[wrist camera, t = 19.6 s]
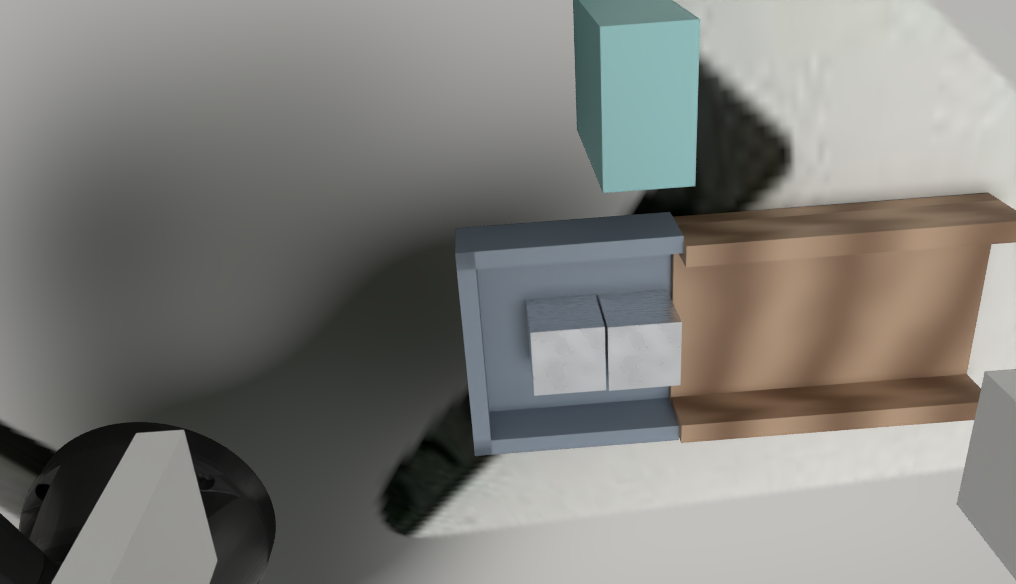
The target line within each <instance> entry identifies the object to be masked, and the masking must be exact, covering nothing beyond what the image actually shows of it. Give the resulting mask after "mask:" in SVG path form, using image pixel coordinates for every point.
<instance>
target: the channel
mask: <svg viewBox="0 0 1016 584" xmlns="http://www.w3.org/2000/svg"><path fill="white" fill-rule="evenodd" d="M673 218H674V220H675V222H676V223H677V225H678V227H679V229H680V230H681V232H682V234H683V236H684V244H683V253H682V254H671V285H670V297H671V299H672V301H673V304H674V306H675V308H676V310H677V312H678V314H679V316H680V319H681V321H682V343H681V383H680V385H677V386H669V394H668V398H669V401H670V403H671V406H672V409H673V411H674V414H675V417H676V419H677V422H678V425H679V438H680V441H681V443H685V442H698V441H710V440H723V439H736V438H749V437H761V436H774V435H787V434H799V433H812V432H825V431H838V430H850V429H863V428H876V427H889V426H901V425H914V424H927V423H940V422H952V421H965V420H975V416H976V411H977V406H978V401H979V397H980V392H981V389H980V387H979V386H978V385H977V384H976V383H975V382H974V381H973V380H972V379H971V378H970V377H969V376H968V375H967V369H968V363H969V358H970V353H971V348H972V343H973V337H974V332H975V327H976V322H977V316H978V311H979V306H980V301H981V296H982V290H983V285H984V280H985V275H986V269H987V264H988V259H989V254H990V249H991V244H999V243H1012V242H1016V210H1014V209H1013V208H1011V207H1010V206H1008V205H1006V204H1005V203H1003V202H1002V201H1000V200H999V199H997V198H996V197H994V196H992V195H991V194H989V193H979V194H966V195H953V196H940V197H927V198H914V199H900V200H887V201H874V202H861V203H848V204H835V205H821V206H808V207H795V208H782V209H769V210H756V211H742V212H729V213H716V214H703V215H690V216H677V217H673Z"/></svg>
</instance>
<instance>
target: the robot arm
mask: <svg viewBox="0 0 1016 584" xmlns="http://www.w3.org/2000/svg"><path fill="white" fill-rule="evenodd" d="M957 505H958V506H959V508H960V509H961V510H962V512H963V513H964V514H965V515H966V517H967V518H968V519H969V521H970V522H971V523H972V524H973V526H974V527H975V528H976V530H977V531H978V532H979V533H980V535H981V536H982V537H983V538H984V540H985V541H986V542H987V544H988V545H989V546H990V548H991V549H992V550H993V551H994V553H995V554H996V555H997V557H998V558H999V559H1000V560H1001V562H1002V563H1003V564H1004V566H1005V567H1006V568H1007V569H1008V571H1009V572H1010V573H1011V575H1012V576H1013V577H1014V578H1015V580H1016V369H1012V370H998V371H985V373H984V378H983V383H982V387H981V392H980V397H979V401H978V406H977V411H976V416H975V420H974V425H973V430H972V434H971V439H970V444H969V449H968V453H967V458H966V463H965V467H964V472H963V477H962V482H961V487H960V491H959V496H958V501H957ZM275 532H276V521H275V514H274V509H273V506H272V502H271V500H270V497H269V495H268V493H267V491H266V489H265V487H264V485H263V484H262V482H261V481H260V479H259V478H258V477H257V476H256V474H255V473H254V472H253V470H252V469H251V468H250V467H249V466H248V465H247V464H246V463H245V462H244V461H243V460H241V459H240V458H239V457H238V456H237V455H235V454H234V453H233V452H231V451H230V450H229V449H227V448H226V447H224V446H222V445H221V444H219V443H217V442H215V441H214V440H212V439H210V438H208V437H205V436H203V435H200V434H198V433H196V432H193V431H190V430H187V429H184V428H180V427H175V426H171V425H166V424H159V423H148V422H132V423H120V424H113V425H108V426H104V427H100V428H97V429H94V430H91V431H89V432H86V433H84V434H82V435H80V436H78V437H76V438H74V439H73V440H71V441H69V442H68V443H67V444H65V445H64V446H63V447H62V448H60V449H59V450H58V451H57V452H56V453H55V454H54V455H53V456H52V457H51V459H50V460H49V461H48V462H47V464H46V465H45V467H44V468H43V470H42V471H41V473H40V474H39V475H38V477H37V478H36V480H35V481H34V483H33V484H32V486H31V488H30V490H29V492H28V494H27V496H26V499H25V501H24V504H23V508H22V512H21V518H20V524H19V530H18V529H17V528H16V527H15V526H14V525H12V523H10V522H9V521H8V520H7V519H6V518H5V517H4V516H3V515H2V514H0V584H259V583H260V582H261V580H262V578H263V576H264V573H265V571H266V568H267V565H268V562H269V558H270V554H271V551H272V548H273V544H274V539H275Z"/></svg>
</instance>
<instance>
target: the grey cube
mask: <svg viewBox="0 0 1016 584" xmlns="http://www.w3.org/2000/svg"><path fill="white" fill-rule="evenodd" d="M526 309H527V325H528V341H529V357H530V366H531V374H532V382H533V390H534V396H538V395H551V394H564V393H577V392H590V391H602V390H606V361H605V326H604V322H603V319H602V316H601V312H600V309H599V306H598V302H597V299H596V295H595V294H589V295H576V296H563V297H550V298H537V299H526Z"/></svg>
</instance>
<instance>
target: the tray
mask: <svg viewBox="0 0 1016 584" xmlns="http://www.w3.org/2000/svg"><path fill="white" fill-rule="evenodd" d="M455 243H456V244H455V257H456V267H457V277H458V286H459V298H460V307H461V318H462V328H463V338H464V347H465V357H466V368H467V378H468V388H469V399H470V409H471V419H472V429H473V439H474V449H475V456H480V455H493V454H506V453H518V452H531V451H544V450H557V449H569V448H582V447H595V446H608V445H620V444H633V443H646V442H658V441H671V440H679V425H678V422H677V419H676V417H675V414H674V411H673V409H672V406H671V403H670V401H669V398H668V394H669V386H664V387H652V388H639V389H626V390H613V391H609V390H608V386H607V382H606V390H602V391H590V392H577V393H564V394H551V395H538V396H534V390H533V382H532V374H531V366H530V357H529V341H528V325H527V309H526V299H537V298H550V297H563V296H576V295H589V294H595V295H596V299H597V302H598V295H600V294H613V293H626V292H639V291H652V290H665V289H667V291H668V293H669V295H670V285H671V254H682V253H683V244H684V236H683V234H682V232H681V230H680V229H679V227H678V225H677V223H676V222H675V220H674V218H673V216H672V215H671V213H670V212H663V213H650V214H637V215H624V216H611V217H599V218H586V219H585V218H584V219H571V220H559V221H545V222H532V223H519V224H506V225H493V226H480V227H466V228H456V241H455Z"/></svg>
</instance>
